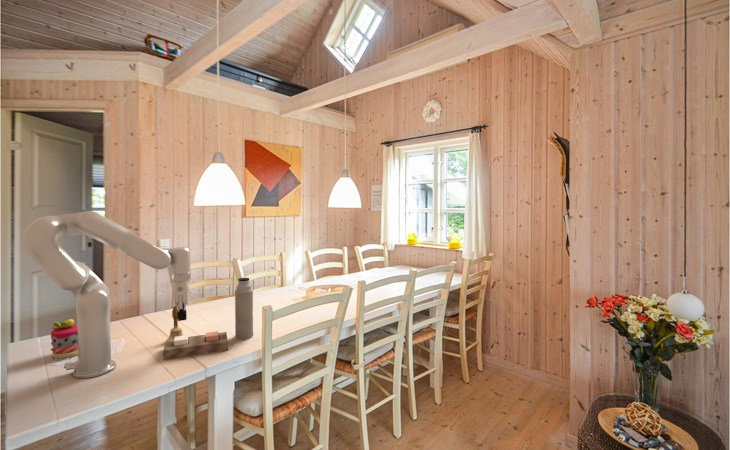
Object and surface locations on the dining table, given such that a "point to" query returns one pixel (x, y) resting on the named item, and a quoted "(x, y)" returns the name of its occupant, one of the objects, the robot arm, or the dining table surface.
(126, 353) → the dining table surface
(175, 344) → the white key
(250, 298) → the thermos bottle
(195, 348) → the block
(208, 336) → the terracotta key
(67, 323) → the cake
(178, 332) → the hand bell
